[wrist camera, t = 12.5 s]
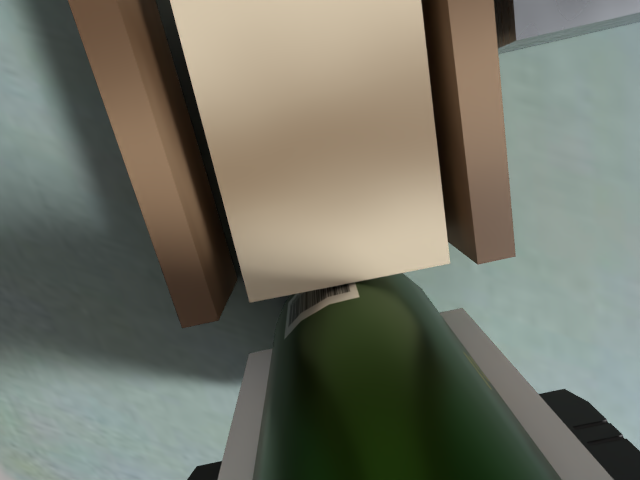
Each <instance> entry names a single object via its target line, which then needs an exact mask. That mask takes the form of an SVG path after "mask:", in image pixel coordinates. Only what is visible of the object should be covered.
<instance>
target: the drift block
mask: <svg viewBox="0 0 640 480" xmlns="http://www.w3.org/2000/svg"><path fill="white" fill-rule="evenodd" d="M170 3H171V6H172V10H173V14H174V18H175V22H176V25H177V29H178V33H179V37H180V41H181V44H182V48H183V52H184V56H185V60H186V63H187V67H188V71H189V75H190V78H191V82H192V86H193V90H194V94H195V97H196V101H197V105H198V109H199V113H200V116H201V120H202V124H203V128H204V132H205V135H206V139H207V143H208V147H209V151H210V154H211V158H212V162H213V166H214V170H215V173H216V177H217V181H218V185H219V189H220V192H221V196H222V200H223V204H224V208H225V211H226V215H227V219H228V223H229V227H230V230H231V234H232V238H233V242H234V246H235V249H236V253H237V257H238V261H239V264H240V268H241V272H242V276H243V280H244V283H245V287H246V291H247V295H248V299H249V302H250V303H251V302H256V301H261V300H266V299H271V298H277V297H282V296H287V295H292V294H297V293H302V292H307V291H312V290H317V289H323V288H328V287H333V286H338V285H343V284H348V283H353V282H358V281H363V280H368V279H374V278H379V277H384V276H389V275H394V274H399V273H404V272H409V271H414V270H419V269H425V268H430V267H435V266H440V265H445V264H450V257H449V248H448V239H447V230H446V221H445V212H444V203H443V194H442V185H441V176H440V167H439V158H438V148H437V139H436V130H435V121H434V112H433V103H432V94H431V85H430V76H429V67H428V58H427V49H426V40H425V31H424V22H423V13H422V4H421V0H170Z"/></svg>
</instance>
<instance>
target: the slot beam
mask: <svg viewBox="0 0 640 480" xmlns="http://www.w3.org/2000/svg"><path fill="white" fill-rule="evenodd" d="M68 2H69V5H70V8H71V11H72V14H73V17H74V19H75V22H76V25H77V28H78V31H79V34H80V37H81V40H82V42H83V45H84V48H85V51H86V54H87V57H88V60H89V62H90V65H91V68H92V71H93V74H94V77H95V80H96V83H97V85H98V88H99V91H100V94H101V97H102V100H103V103H104V106H105V108H106V111H107V114H108V117H109V120H110V123H111V126H112V128H113V131H114V134H115V137H116V140H117V143H118V146H119V149H120V151H121V154H122V157H123V160H124V163H125V166H126V169H127V172H128V174H129V177H130V180H131V183H132V186H133V189H134V192H135V194H136V197H137V200H138V203H139V206H140V209H141V212H142V215H143V217H144V220H145V223H146V226H147V229H148V232H149V235H150V238H151V240H152V243H153V246H154V249H155V252H156V255H157V258H158V260H159V263H160V266H161V269H162V272H163V275H164V278H165V281H166V283H167V286H168V289H169V292H170V295H171V298H172V301H173V304H174V306H175V309H176V312H177V315H178V318H179V321H180V324H181V326H182V328H186V327H191V326H195V325H200V324H205V323H209V322H214V321H218V320H219V318H220V316H221V314H222V312H223V310H224V308H225V306H226V303H227V301H228V299H229V297H230V295H231V293H232V291H233V288H234V286H235V284H236V282H237V280H238V279H237V276H236V272H235V269H234V266H233V262H232V259H231V255H230V252H229V249H228V245H227V242H226V239H225V235H224V232H223V228H222V225H221V222H220V218H219V215H218V211H217V208H216V205H215V201H214V198H213V194H212V191H211V188H210V184H209V181H208V177H207V174H206V171H205V167H204V164H203V160H202V157H201V154H200V150H199V147H198V143H197V140H196V137H195V133H194V130H193V126H192V123H191V120H190V116H189V113H188V109H187V106H186V103H185V99H184V96H183V92H182V89H181V86H180V82H179V79H178V75H177V72H176V69H175V65H174V62H173V58H172V55H171V52H170V48H169V45H168V42H167V38H166V35H165V31H164V28H163V25H162V21H161V18H160V14H159V11H158V8H157V4H156V1H155V0H68ZM421 4H422V13H423V22H424V31H425V40H426V49H427V58H428V67H429V76H430V85H431V94H432V103H433V112H434V121H435V130H436V139H437V148H438V158H439V167H440V176H441V185H442V194H443V203H444V212H445V221H446V230H447V239H448V242H449V243H450V244H452V245H453V246H454V247H455V248H457V249H458V250H459V251H461V252H462V253H463V254H465V255H466V256H467V257H469V258H470V259H471V260H473V261H474V262H475V263H477V264H482V263H487V262H492V261H496V260H501V259H506V258H510V257H515V244H514V232H513V221H512V209H511V197H510V186H509V174H508V162H507V150H506V139H505V127H504V115H503V104H502V92H501V80H500V69H499V57H498V45H497V33H496V22H495V10H494V0H421Z"/></svg>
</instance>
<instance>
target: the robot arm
mask: <svg viewBox="0 0 640 480" xmlns="http://www.w3.org/2000/svg"><path fill="white" fill-rule="evenodd" d="M440 315H441V316H442V317H443V319H444V320H445V321H446V323H447V324H448V325H449V327H450V328H451V330H452V331H453V332H454V334H455V335H456V336H457V338H458V339H459V340H460V342H461V343H462V344H463V346H464V347H465V349H466V350H467V351H468V353H469V354H470V355H471V357H472V358H473V359H474V361H475V362H476V364H477V365H478V366H479V368H480V369H481V370H482V372H483V373H484V374H485V376H486V377H487V378H488V380H489V381H490V383H491V384H492V385H493V387H494V388H495V389H496V391H497V392H498V393H499V395H500V396H501V398H502V399H503V400H504V402H505V403H506V404H507V406H508V407H509V408H510V410H511V411H512V412H513V414H514V415H515V417H516V418H517V419H518V421H519V422H520V423H521V425H522V426H523V427H524V429H525V430H526V432H527V433H528V434H529V436H530V437H531V438H532V440H533V441H534V442H535V444H536V445H537V446H538V448H539V449H540V451H541V452H542V453H543V455H544V456H545V457H546V459H547V460H548V461H549V463H550V464H551V466H552V467H553V468H554V470H555V471H556V472H557V474H558V475H559V476H560V478H561V479H562V480H640V451H639V450H638V449H637V448H636V447H635V446H634V445H633V444H632V443H631V442H629V441H628V440H627V439H624V438H623V435H622V434H621V433H620V432H619V431H618V430H617V429H616V428H615V427H614V426H613V425H612V424H611V423H608V422H607V419H606V418H605V417H604V416H602V415H601V414H600V413H599V412H598V411H597V410H596V409H595V408H594V407H593V406H592V405H591V404H590V403H589V402H588V401H586V400H584V399H582V398H580V397H578V396H576V395H575V394H573V393H571V392H569V391H567V390H565V389H562V390H557V391H552V392H547V393H542V394H538V393H537V392H536V391H535V390H534V389H533V387H532V386H531V385H530V384H529V383H528V382H527V381H526V380H525V378H524V377H523V376H522V375H521V374H520V373H519V372H518V370H517V369H516V368H515V367H514V366H513V365H512V364H511V362H510V361H509V360H508V359H507V358H506V357H505V356H504V355H503V353H502V352H501V351H500V350H499V349H498V348H497V347H496V345H495V344H494V343H493V342H492V341H491V340H490V339H489V338H488V336H487V335H486V334H485V333H484V332H483V331H482V330H481V328H480V327H479V326H478V325H477V324H476V323H475V322H474V320H473V319H472V318H471V317H470V316H469V315H468V314H467V313H466V311H465V310H464V309H463V308H460V309H455V310H450V311H446V312H441V313H440ZM272 349H273V348H272ZM272 349H267V350H263V351H258V352H253V353H249V356H248V360H247V364H246V368H245V372H244V376H243V380H242V384H241V388H240V392H239V396H238V400H237V404H236V408H235V412H234V416H233V420H232V424H231V428H230V432H229V436H228V440H227V444H226V448H225V452H224V456H223V460H222V461H220V462H215V463H211V464H206V465H201V466H197V467H196V468H195V470H194V471H193V472H192V474H191V475H190V477H189V478H188V479H187V480H253V473H254V467H255V460H256V453H257V447H258V440H259V434H260V427H261V421H262V414H263V408H264V401H265V395H266V388H267V382H268V375H269V369H270V362H271V356H272Z"/></svg>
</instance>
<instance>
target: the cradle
mask: <svg viewBox="0 0 640 480" xmlns="http://www.w3.org/2000/svg"><path fill="white" fill-rule="evenodd" d="M494 10H495V22H496V33H497V45H498V54H500V53H505V52H509V51H514V50H518V49H522V48H527V47H531V46H535V45H540V44H544V43H549V42H553V41H557V40H562V39H566V38H570V37H575V36H579V35H584V34H588V33H592V32H597V31H601V30H606V29H610V28H614V27H619V26H623V25H627V24H632V23H636V22H640V0H494Z"/></svg>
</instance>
